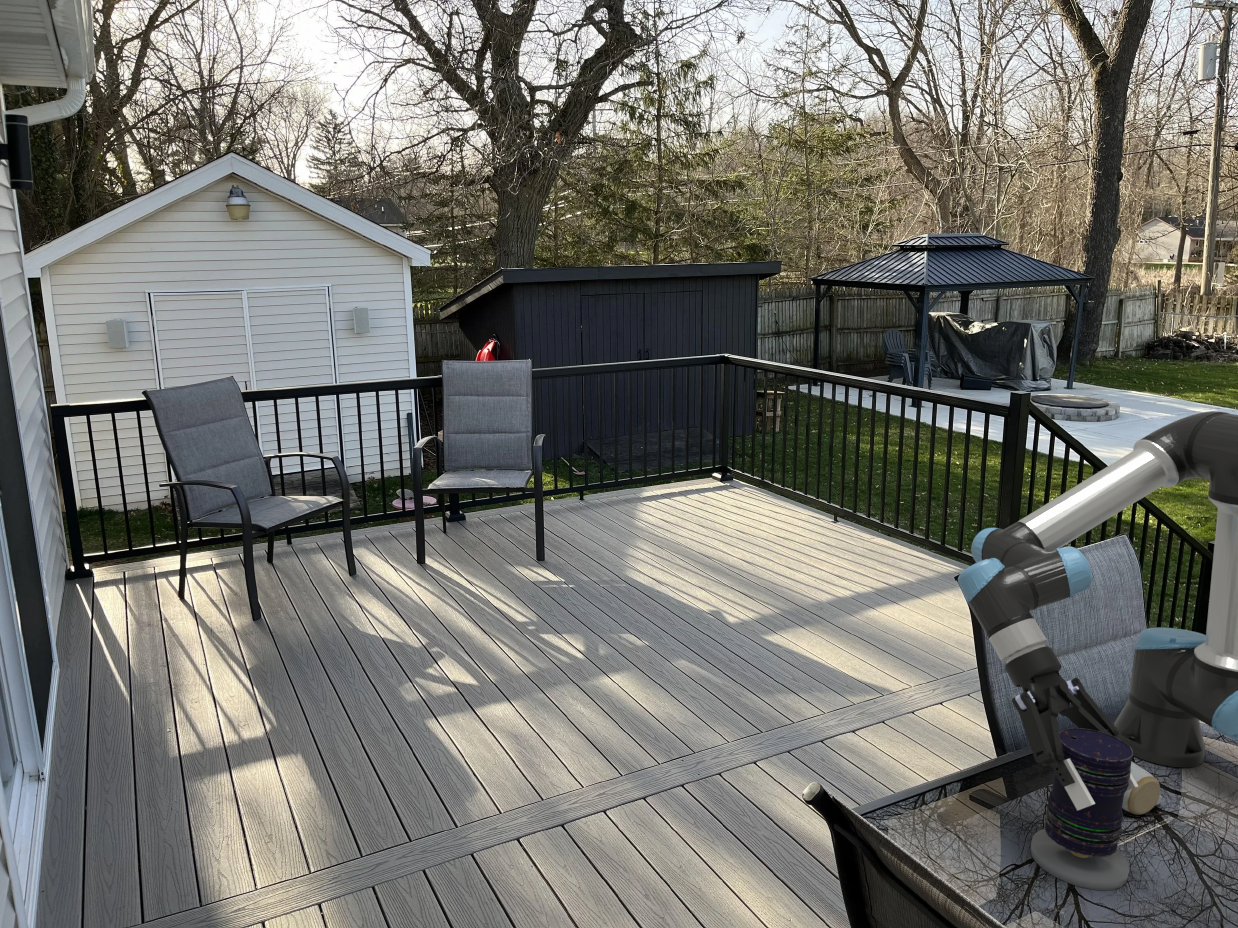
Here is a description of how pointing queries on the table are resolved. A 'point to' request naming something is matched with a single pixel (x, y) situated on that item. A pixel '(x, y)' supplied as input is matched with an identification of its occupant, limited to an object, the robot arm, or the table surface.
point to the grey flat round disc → (1079, 865)
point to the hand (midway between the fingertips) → (1108, 798)
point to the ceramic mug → (1142, 792)
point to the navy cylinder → (1091, 793)
